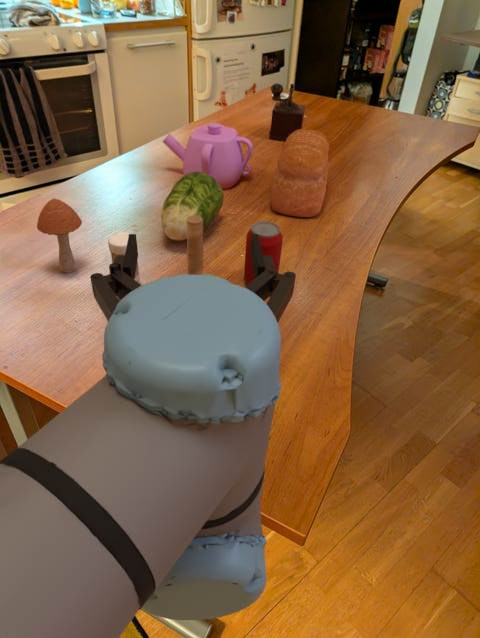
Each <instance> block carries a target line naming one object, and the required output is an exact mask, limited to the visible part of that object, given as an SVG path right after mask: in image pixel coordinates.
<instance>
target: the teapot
mask: <svg viewBox="0 0 480 638" xmlns="http://www.w3.org/2000/svg"><path fill="white" fill-rule="evenodd" d="M162 143H163V144H164V145H165V146H166V147H167V148H168V149H169V150H170V151H171V152H172V153H173V154H175V155H176V156H177V158H179V159H180V160H181V161H182V173H183V176H185V175H187V174H188V173H193V172H202V173H206V174H208V175H210V176H211V177H213V178H214V179H215V180H216V181H217V182H218V184H219V185H220V186H221V189H222V190H224V189H225V190H227V189H230V188H231V189H232V187H234V186H235V185H236V184H237V183H238V181H240V179H241V178H242V175H243V176H249V175H250V174H252V172H253V167H252V165H251V164H250V163H248V162H249V161H250V158H251V156H252V154H253V151H254V146H253V143H252V141H251V140H250V139H248V138H247V137H246V136H239V134H238V131H237V130H236V129H235V128H234V127H229V126H224V125H223V124H221V123H219V122H209V123H207V124H201V125H199V126H197V127H195V128H194V129H193V130H192V131H191V133H190V135H189V137H188V141H187V143H186V146H185V147H184V146H183V145H182V144H181V143H180V142H179V141H178V140H177V139H176V138H175V137H174V136H173V135H172V134H171V133H168V135H167V136H166V137H165V138H164V139H163V140H162ZM242 143H243V144H245V145H246V146H247V153H246V156H245V157H244V154H243V153H244V152H243V148H242ZM246 168H247V169H248V170H246Z"/></svg>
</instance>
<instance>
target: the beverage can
mask: <svg viewBox="0 0 480 638" xmlns="http://www.w3.org/2000/svg"><path fill="white" fill-rule="evenodd" d="M252 234H258V236H259V240H260V245H261V249H262V254H263V255H270V256H271V257H272V258H273V262H274V266H275V269H276V270H277V272H278V273H280V272H279V271H280V264H281V258H282V257H281V256H282V249H283V248H282V247H283V241H284V240H283V239H284V237H283V236H284V235H283V234H282V231H281V228H280V226H279V225H278V224H276V223H275V222H272V221H265V220H264V221H263V220H261V221H257V222H254V223H252V225H251V226H250V229H249V230H248V231H247V233H246V241H245V253H244V269H243V280H244V282H245V283H246V285H248V284H249V283H250V282H251V281H253V280H254V274H253V268H252V263H251V257H250V249H251V235H252Z"/></svg>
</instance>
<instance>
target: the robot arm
mask: <svg viewBox="0 0 480 638" xmlns="http://www.w3.org/2000/svg"><path fill="white" fill-rule="evenodd" d="M138 248H139V247H138V240H137V234H136V233H130V234H129V237H128V242H127V247H126V252H125V256H117V257H116V258H115V260H114V263H112V262H111V263H110V264H109V265H108V269H109V274H106V275H103V274H102V273H100V272H95V273H92V274H91V275H90V282H91V288H92V293H93V297H94V300H95V302H96V304H97V305H98V307H99V309H100V310H101V312H102V314H103V315H104V317H105V319H106V320H107V324H106V326H105V327H104V335H103V352H102V355H101V359H102V367H103V369H104V371H105V375H104V376H103V377H102V378H101V379H99V380H98V381H97V382H96V383H95V384H93V385H92V386H91V387H90V388H89V389H87V391H84V393H82V394H81V395H80V396H79V397H77V398H76V399H75V400H73V402H72V403H70V404H69V405H68V406H66V408H64V409H63V410H61V412H60V413H58V414H57V415H56V416H55V417H53V418H52V419H51V420H50V421H48V422H47V423H46V424H44V425H43V426H42V427H41V428H40V429H39V430H37V431H36V432H34V434H33V435H31V436H30V437H29V438H28V439H26V440H25V441H24V442H23V443H21V444H20V445H19V446H18V447H16V448H14V450H11V452H10V453H8V454H7V455H6V456H5V457H4V458H2V459H1V460H0V638H120V637H121V636H122V635H123V633H124V631H125V630H126V629H127V627H128V626H129V625H130V623H131V622H132V621H133V619H134V617H135V616H136V615H137V613H138V612H139V611H140V610H142V609H143V610H144V611H145V612H146V613H148V614H150V615H153V616H155V617H158V618H163V619H168V620H172V621H173V620H175V621H201V620H213V619H218V618H223V617H226V616H227V617H228V616H231V615H233V614H236V613H238V612H242V611H244V610H245V609H248V608H249V607H250V606H252V605H254V604H255V602H257V601H258V600H259V599H260V597H261V596H262V595H263V593H264V590H265V588H266V585H267V567H266V552H265V547H266V546H267V537H266V535H264V532H263V524H262V523H263V522H262V514H261V513H262V512H261V499H262V493H263V488H264V481H265V474H266V460H267V455H268V447H269V442H270V437H271V431H272V425H273V420H274V415H275V408H276V403H277V401H278V400H279V399H280V395H281V391H280V390H281V389H282V383H281V377H280V369H281V367H280V366H281V349H282V335H281V329H280V325H279V322H280V320H281V319H282V317H283V315H284V313H285V311H286V309H287V307H288V305H289V303H290V301H291V299H292V297H293V296H294V290H295V283H296V277H297V275H296V273H295V272H293V271H285V272H284V273H280V272H277V270H276V269H275V266H274V262H273V258H272V257H271V256H270V255H263V254H262V249H261V245H260V240H259V236H258V234H252V235H251V249H250V257H251V263H252V268H253V274H254V280H253V281H251V282H250V283H249V284H246V285H245V286H243V287H242V286H241V285H240V284H234V283H232V282H230V281H229V280H228V279H227V278H223V277H220V276H218V277H214V276H207V275H180V274H176V275H177V276H175V275H170V276H166V277H160V278H157V279H155V280H151V281H149V282H146V283H144V284H141V283H140V284H139V283H138V282H137V281H135V280H134V279H135V273H136V266H137V261H138V260H139V249H138ZM219 277H220V278H219ZM222 278H223V279H222ZM118 298H119V299H121V301H119V299H118ZM266 300H268V301H267V302H265V301H266Z"/></svg>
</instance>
